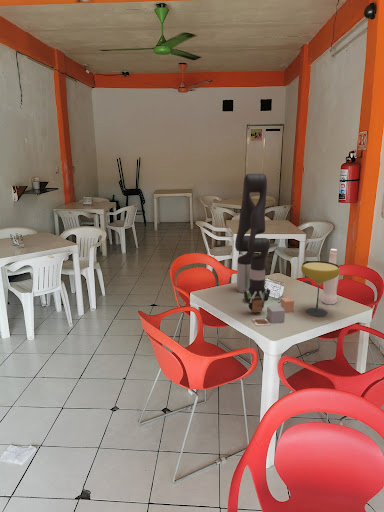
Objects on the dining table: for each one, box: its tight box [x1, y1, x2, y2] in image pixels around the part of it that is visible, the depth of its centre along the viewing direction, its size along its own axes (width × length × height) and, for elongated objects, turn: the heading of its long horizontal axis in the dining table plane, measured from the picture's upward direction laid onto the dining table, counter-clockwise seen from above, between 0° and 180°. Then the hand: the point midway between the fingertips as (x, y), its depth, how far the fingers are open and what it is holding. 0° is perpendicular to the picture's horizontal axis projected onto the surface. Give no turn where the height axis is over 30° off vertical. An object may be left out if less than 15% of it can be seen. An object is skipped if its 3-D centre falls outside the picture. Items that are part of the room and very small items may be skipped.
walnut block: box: [250, 297, 264, 313], centre depth 197 cm, size 5×5×6 cm
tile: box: [251, 317, 272, 327], centre depth 187 cm, size 7×7×1 cm
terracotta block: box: [280, 297, 295, 314], centre depth 201 cm, size 5×5×6 cm
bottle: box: [320, 248, 340, 305], centre depth 208 cm, size 8×8×30 cm
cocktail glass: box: [300, 260, 341, 318], centre depth 195 cm, size 18×18×25 cm
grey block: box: [266, 305, 286, 324], centre depth 190 cm, size 6×6×6 cm
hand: (255, 308), depth 198 cm, fingers closed on walnut block, 5 cm apart
